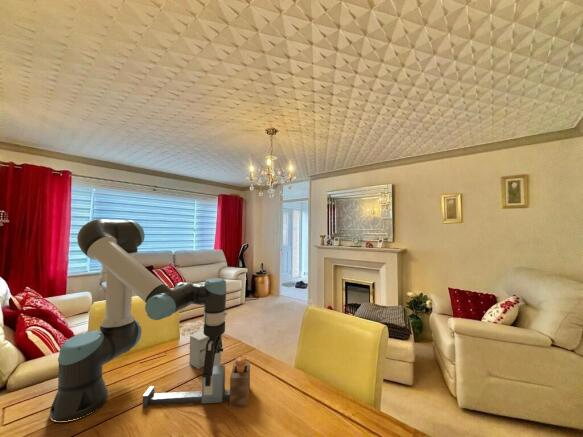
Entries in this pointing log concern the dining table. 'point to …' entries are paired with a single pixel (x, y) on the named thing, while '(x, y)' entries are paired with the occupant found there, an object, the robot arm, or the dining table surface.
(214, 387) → the block
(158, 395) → the rail
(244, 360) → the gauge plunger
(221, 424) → the dining table surface
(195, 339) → the supplement box
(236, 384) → the end block
